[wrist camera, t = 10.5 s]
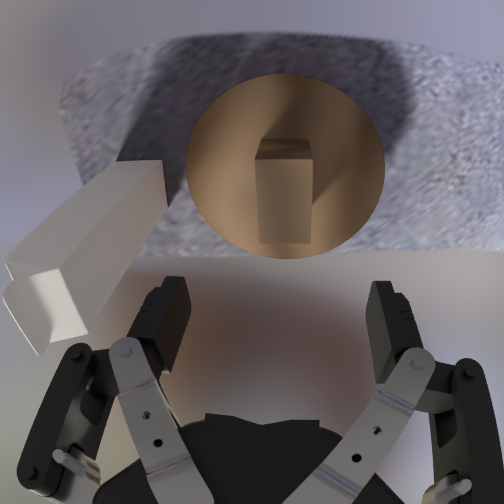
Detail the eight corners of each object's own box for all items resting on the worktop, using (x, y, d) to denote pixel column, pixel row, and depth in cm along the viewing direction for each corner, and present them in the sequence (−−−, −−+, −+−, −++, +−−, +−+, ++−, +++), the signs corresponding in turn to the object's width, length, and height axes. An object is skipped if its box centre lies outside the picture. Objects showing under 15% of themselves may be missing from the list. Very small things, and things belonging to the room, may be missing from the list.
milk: (162, 159, 31) (32, 302, 13) (168, 208, 35) (72, 369, 17) (114, 161, 32) (-24, 287, 14) (122, 208, 35) (14, 348, 17)
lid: (387, 79, 19) (416, 86, 14) (369, 253, 28) (383, 296, 23) (177, 82, 21) (146, 90, 16) (202, 251, 30) (186, 293, 25)
